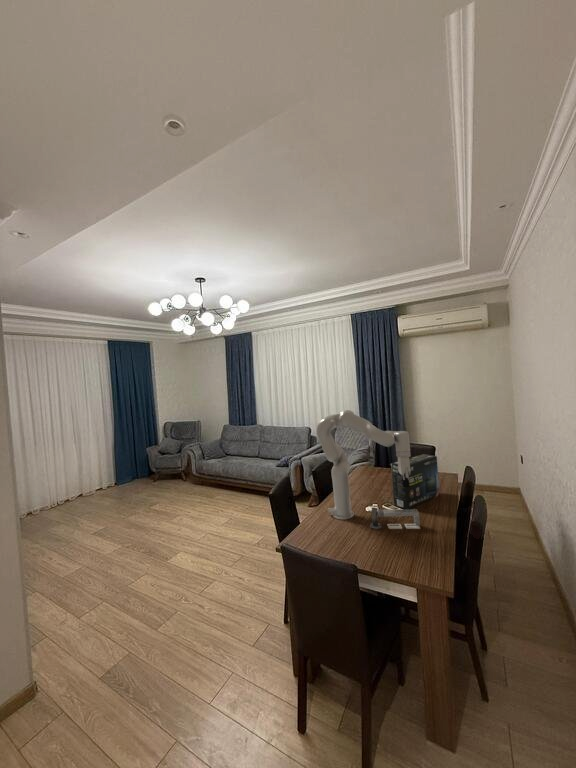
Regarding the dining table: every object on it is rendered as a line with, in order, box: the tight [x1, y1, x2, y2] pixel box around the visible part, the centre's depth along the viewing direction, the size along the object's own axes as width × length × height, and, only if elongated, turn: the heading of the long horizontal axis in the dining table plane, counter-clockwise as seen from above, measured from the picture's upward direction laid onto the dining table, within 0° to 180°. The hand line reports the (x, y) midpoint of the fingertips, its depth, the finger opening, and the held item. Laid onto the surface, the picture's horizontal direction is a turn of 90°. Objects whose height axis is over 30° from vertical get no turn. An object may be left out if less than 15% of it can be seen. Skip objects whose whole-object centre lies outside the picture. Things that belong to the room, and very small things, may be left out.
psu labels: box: [387, 523, 421, 530], centre depth 163 cm, size 16×5×1 cm, turn 81°
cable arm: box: [377, 508, 421, 527], centre depth 164 cm, size 20×4×7 cm, turn 81°
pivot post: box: [369, 506, 382, 530], centre depth 166 cm, size 6×6×10 cm
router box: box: [390, 453, 440, 509], centre depth 198 cm, size 36×11×27 cm, turn 123°
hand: (405, 485), depth 171 cm, fingers closed
